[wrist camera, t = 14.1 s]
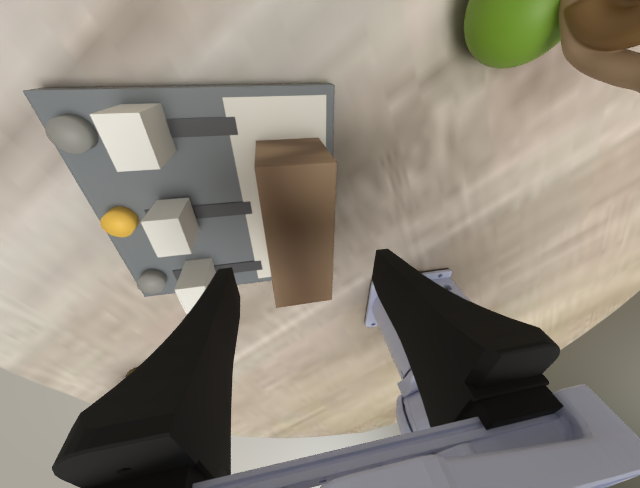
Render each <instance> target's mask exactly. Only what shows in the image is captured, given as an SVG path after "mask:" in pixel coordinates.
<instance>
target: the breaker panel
mask: <svg viewBox="0 0 640 488" xmlns="http://www.w3.org/2000/svg"><path fill="white" fill-rule="evenodd" d="M23 92H24V94H25V96H26V97H27V99H28V101H29V103H30V104H31V106H32V108H33V109H34V111H35V113H36V114H37V116H38V118H39V119H40V121H41V123H42V124H43V126H44V128H45V131H46V134H47V136H48V138H49V139H50V141H51V142H52V143H53V144H54V145H55V146H56V148H57V150H58V151H59V153H60V155H61V156H62V158H63V160H64V161H65V163H66V165H67V166H68V168H69V170H70V172H71V173H72V175H73V177H74V178H75V180H76V182H77V183H78V185H79V187H80V188H81V190H82V192H83V193H84V195H85V197H86V198H87V200H88V202H89V204H90V205H91V207H92V209H93V210H94V212H95V214H96V215H97V217H98V219H99V220H100V223H101V226H102V228H103V229H104V230H105V231H106V232H107V234H108V236H109V237H110V239H111V241H112V242H113V244H114V246H115V247H116V249H117V251H118V252H119V254H120V256H121V257H122V259H123V261H124V262H125V264H126V266H127V268H128V269H129V271H130V273H131V274H132V276H133V278H134V279H135V281H136V283H137V286H138V288H139V289H140V290H141V291H142V293H143V294H144V296H145V297H147V296H155V295H163V294H170V293H176V294H177V296H178V298H179V300H180V303H181V305H182V307H183V309H184V311H185V313H186V314H188V313H189V312H190V310H191V309H192V308H193V306H194V305H195V304H196V302H197V301H198V299H199V298H200V297H201V295H202V294H203V292H204V291H205V289H206V288H207V286H208V285H209V283H210V281H211V280H212V278H213V277H214V275H215V273H216V272H217V270H218V269H223V268H231V267H232V269H233V273H234V276H235V280H236V284H237V285H239V284H247V283H255V282H263V281H270V280H272V277H271V271H270V265H269V258H268V252H267V246H266V239H265V233H264V226H263V220H262V214H261V207H260V201H259V194H258V188H257V182H256V175H255V169H254V164H255V148H256V141H260V140H280V139H301V138H319V139H320V140H321V142H322V143H323V144H324V146H325V147H326V148H327V150H328V151H329V152H330V154H331V155H332V156H333V123H334V85H333V84H330V83H305V84H247V85H189V86H130V87H72V88H39V89H31V90H24V91H23ZM177 198H189V199H190V202H191V205H192V208H193V211H194V214H195V217H196V220H197V223H198V226H199V229H200V231H199V234H198V237H197V240H196V243H195V245H194V248H193V251H192V254H185V255H176V256H167V257H157V255H156V253H155V251H154V249H153V247H152V245H151V243H150V240H149V238H148V236H147V234H146V232H145V230H144V228H143V226H142V224H141V220H142V219H143V218H144V216H145V215H146V214H147V212H148V211H149V210H150V208H151V207H152V206H153V204H154V203H155V202H156V200H165V199H177Z"/></svg>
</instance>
